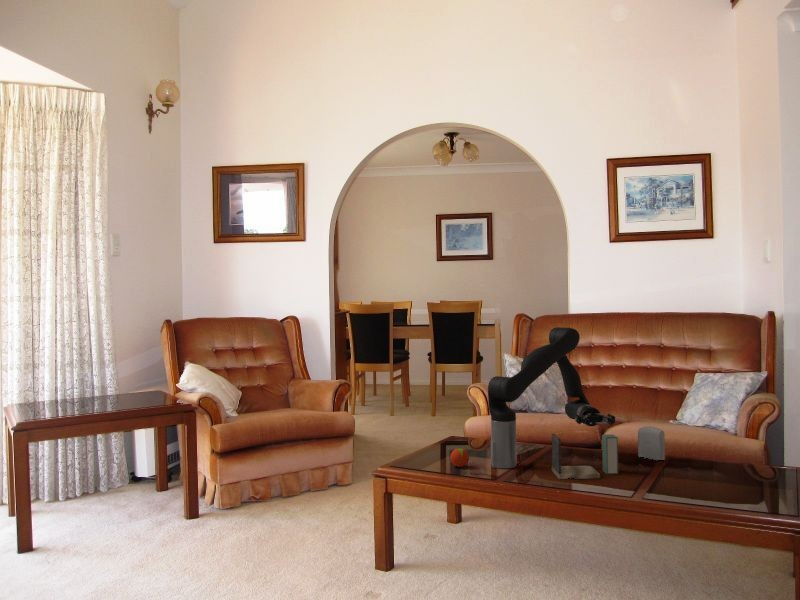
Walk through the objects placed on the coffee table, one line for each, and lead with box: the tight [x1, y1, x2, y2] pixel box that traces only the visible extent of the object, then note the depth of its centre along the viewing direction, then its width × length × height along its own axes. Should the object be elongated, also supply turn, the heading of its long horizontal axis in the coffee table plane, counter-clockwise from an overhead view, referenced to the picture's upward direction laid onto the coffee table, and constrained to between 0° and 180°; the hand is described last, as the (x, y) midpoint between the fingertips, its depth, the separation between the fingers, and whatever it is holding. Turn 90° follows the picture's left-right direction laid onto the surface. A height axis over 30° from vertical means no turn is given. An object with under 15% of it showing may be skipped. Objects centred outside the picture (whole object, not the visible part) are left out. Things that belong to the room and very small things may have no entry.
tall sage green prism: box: [601, 434, 619, 475], centre depth 247 cm, size 4×5×13 cm
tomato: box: [450, 447, 470, 468], centre depth 258 cm, size 8×7×7 cm
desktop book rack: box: [551, 433, 601, 480], centre depth 245 cm, size 14×12×14 cm
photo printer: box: [637, 425, 666, 461], centre depth 267 cm, size 10×4×12 cm, turn 39°
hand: (600, 422), depth 259 cm, fingers open, 8 cm apart
